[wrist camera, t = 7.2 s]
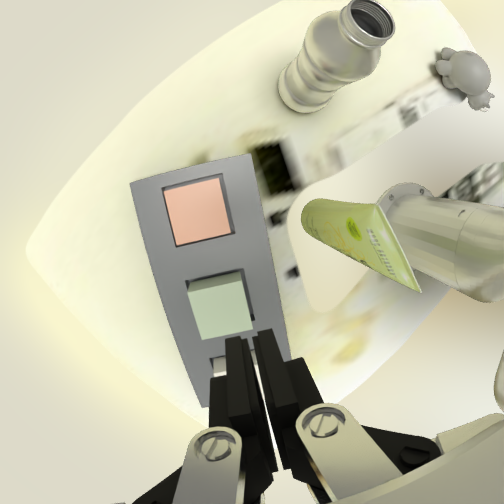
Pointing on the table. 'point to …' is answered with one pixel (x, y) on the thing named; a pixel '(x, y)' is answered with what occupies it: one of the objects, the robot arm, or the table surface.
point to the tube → (359, 236)
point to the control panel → (211, 261)
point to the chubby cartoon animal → (466, 76)
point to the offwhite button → (220, 368)
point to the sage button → (220, 305)
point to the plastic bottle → (335, 54)
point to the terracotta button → (197, 211)
